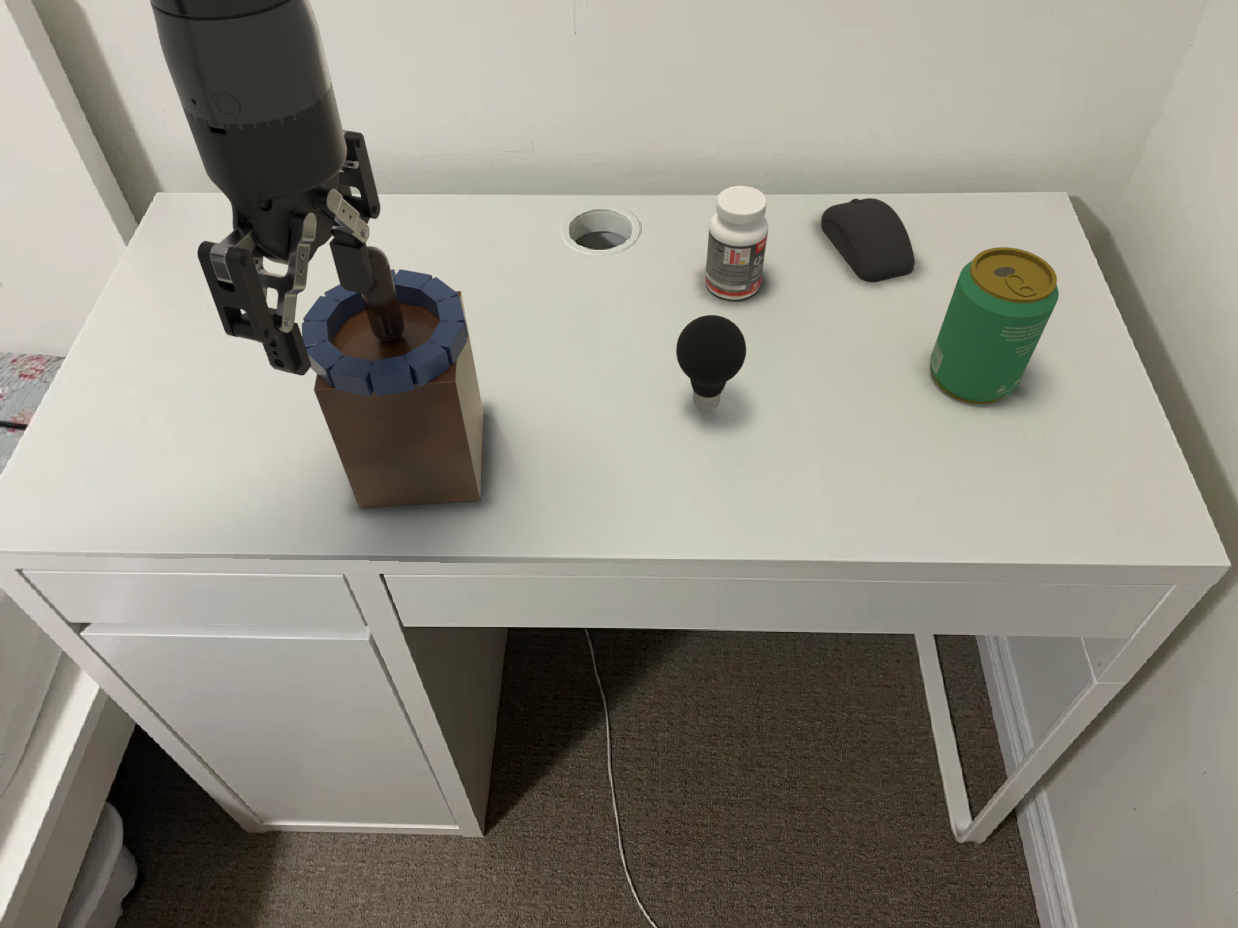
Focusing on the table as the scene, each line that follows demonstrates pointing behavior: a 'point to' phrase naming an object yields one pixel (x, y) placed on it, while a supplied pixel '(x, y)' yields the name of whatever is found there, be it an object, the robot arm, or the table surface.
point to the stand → (404, 410)
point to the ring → (394, 370)
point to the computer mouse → (870, 238)
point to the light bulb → (710, 357)
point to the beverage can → (993, 324)
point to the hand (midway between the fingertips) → (327, 327)
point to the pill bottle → (737, 243)
